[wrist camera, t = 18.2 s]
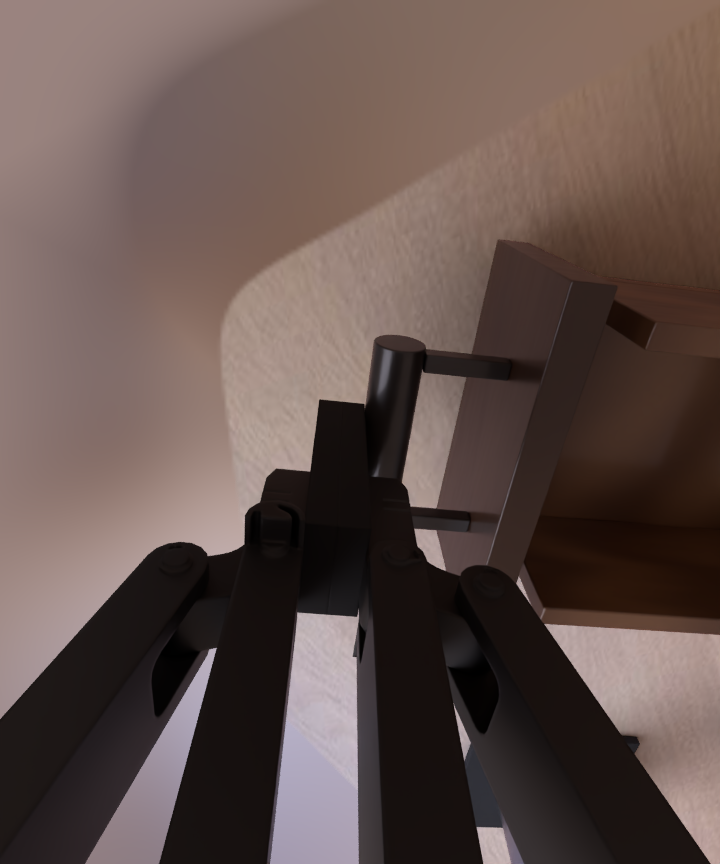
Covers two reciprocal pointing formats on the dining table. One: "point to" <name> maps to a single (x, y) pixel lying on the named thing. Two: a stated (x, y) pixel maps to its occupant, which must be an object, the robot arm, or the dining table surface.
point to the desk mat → (483, 795)
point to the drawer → (575, 443)
